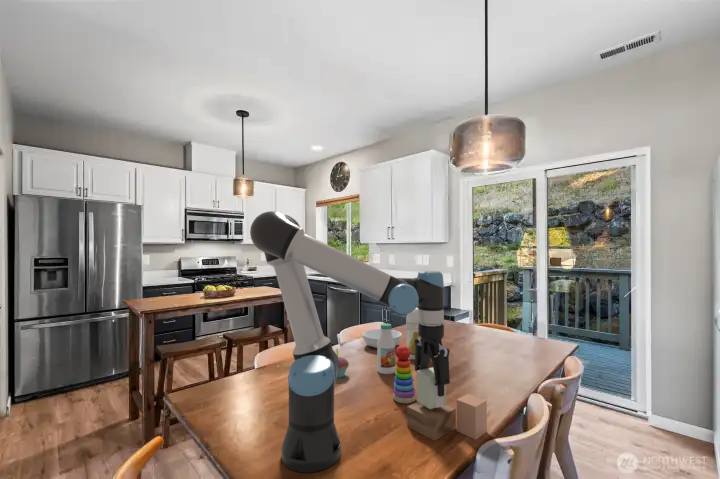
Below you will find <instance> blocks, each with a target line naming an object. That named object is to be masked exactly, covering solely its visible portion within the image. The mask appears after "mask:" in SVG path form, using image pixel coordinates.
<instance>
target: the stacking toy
mask: <svg viewBox="0 0 720 479" xmlns="http://www.w3.org/2000/svg"><path fill="white" fill-rule="evenodd" d="M395 357H397V359H395V372H394V383H393V394H392V399H393V401H395V402H397V403H399V404H411V403H412V404H413V403H415V401H416V399H417V396H416V395H417V394H416V389H415V385H414V377H413V372H412V370H413V369H412V365H411V364H412V363H411V359H408V358H409V357H410V350H409V348H408V347H407V346H406V345H405V344H403V345H399V346H397V347H396V348H395Z"/></svg>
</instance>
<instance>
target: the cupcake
mask: <svg viewBox="0 0 720 479" xmlns="http://www.w3.org/2000/svg"><path fill="white" fill-rule="evenodd" d="M336 355H337V357H338V360H339V372H338V376H337V378H342V377H344V376H345V375H346V371H347V369H348V368H349V365H350V364H349V361H348V360H347V359H346V358H344V357H340V356H339V349H338V348H336Z"/></svg>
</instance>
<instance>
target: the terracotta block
mask: <svg viewBox="0 0 720 479" xmlns="http://www.w3.org/2000/svg"><path fill="white" fill-rule="evenodd" d="M487 403H488V402H487V400H486V399H484V398H480V397H479V396H478V397H477V396H475V395H472V394H470V393H467V394H465V395H463V396H461V397H459V398H457V399H456V431H457V432H458V433H461V434H463V435H465V436H467V437H469V438H472V439H473V440H477V439H479V438H480V437H482V436H483V435H485V434H486V433H487V432H488V427H487V426H488V424H487V423H488V422H487V421H488V419H487V417H488V416H487V415H488V414H487V409H488V407H487V406H488V405H487Z"/></svg>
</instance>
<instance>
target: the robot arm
mask: <svg viewBox="0 0 720 479" xmlns="http://www.w3.org/2000/svg"><path fill="white" fill-rule="evenodd" d="M249 233H250V234H249V235H250V239H251V241H252V244H253V246H255V247H256V248H257V249H258V250H259V251H261V252H263V253H264V256H265V257H264V258H265V260H266V263H267V264H268V265H269V266H271V267H272V268H273V269H274V272H275V276H276V279H277V282H278V287H279V290H280V293H281V297H282V301H283V303H284V307H285V311H286V315H287V319H288V322H289V325H290V329H291V333H292V337H293V339H294V343H295V346H294V348H293V350H292V356H293V359H294V361H293V362H292V363H291V365H290V366H289V371H288V376H287V384H288V425H287V426H288V427H287V429H286V432H285V435H284V439H283V442H282V445H281V462H282V463H283V465H284V466H285V467H286V468H288V469H289V470H292V471H295V472H299V473H316V471H317V472H320V471H319V470H321V471H324V470H326V469H328V468H330V467H332V466H333V465H335V463H337V462H338V461H339V459H340V458H341V454H342V443H341V440H340V436H339V433H338V429H337V427H336V423H335V389H336V384H337V379H338V377H337V376H338V372H339V360H338V357H339V356H338V357H337V352H335V351H334V349H333V346H332V342H331V339H330V338H329V337H327V336H325V335H324V333H323V329H322V328H323V327H322V324H321V321H320V319H319V315H318V311H317V308H316V303H315V300H314V297H313V294H312V289H311V287H310V283H309V279H308V276H307V271H306V269H305V267H306V268H309V269H311V270H312V271H314V272H317V273H319V274H321V275H323V276H325V277H326V278H327V277H328V278H330V279H331V280H333V281H336V282H338V283H340V284H342V285H344V286H346V287H347V288H350V289H353V290H355V291H356V292H358V293H360V294H363V295H365V296H367V297H369V298H371V299H373V300H376V301H378V302H379V303H380V304H382V305H385V306H387V307H388V308H390V309H391V310H392V311H394V312H396V313H398V314H400V315H407V314H409V313H411V312H413V311H414V310H415V309H416V308H418V321H419V322H420V323H419V324H418V335H419V336H420V337H421V338H420V339H415V346H416V349H415V360H414V370H415V371H416V372H417V370H422V369H427V368H429V366H430V361H431V363H432V367H433V369H434V374H435V379H436V383H434V407H435V408H438V407H442V406H444V405H443V396H444V385H446V386H447V385H449V384H450V383H451V382H450V381H451V380H450V378H451V377H450V376H451V375H450V361H449V359H450V358H449V356H450V351H451V350H450V349H449V348H445V347H444V345H443V343H442V342H443V340H442V339H443V338H444V337H445V325H444V324H443V323H444V321H445V320H444V319H445V315H444V314H445V312H444V311H445V310H444V305H445V304H444V297H445V296H444V295H445V294H444V292H445V286H444V275H443V273H442V272H441V271H437V270H421V271H418V273H417V277H411V278H410V277H409V278H408V277H407V278H406V277H403V278H402V277H394V276H393V275H391V274H389V273H387V272H385V271H383V270H380V269H378V268H376V267H374V266H372V265H370V264H368V263H366V262H364V261H362V260H360V259H358V258H355V257H354V256H352V255H350V254H347V253H345V252H344V251H341V250H339V249H337V248H335V247H334V246H331V245H329V244H328V243H324V242H323V241H321V240H319V239H317V238H314V237H313V236H310V235H308V234H306V232H305V230H304V228H302V227H301V226H300V224H299V221H297V220H296V218H295V219H294V217H292V216H290V215H287V214H283V213H281V212H279V211H270V210H269V211H265V212H262V213H261V214H258V215H257V216H256V217H255V218H254V219H253V221H252V223H251V225H250V229H249ZM323 469H324V470H323Z"/></svg>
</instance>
